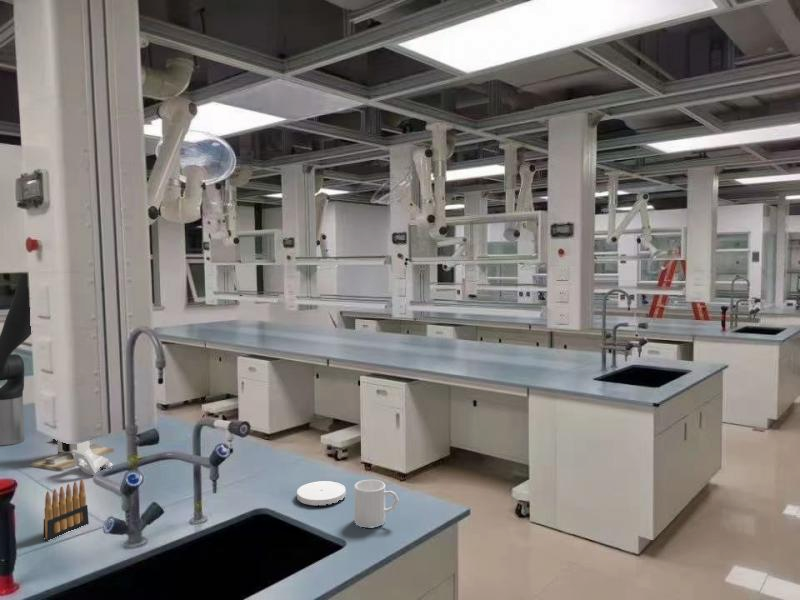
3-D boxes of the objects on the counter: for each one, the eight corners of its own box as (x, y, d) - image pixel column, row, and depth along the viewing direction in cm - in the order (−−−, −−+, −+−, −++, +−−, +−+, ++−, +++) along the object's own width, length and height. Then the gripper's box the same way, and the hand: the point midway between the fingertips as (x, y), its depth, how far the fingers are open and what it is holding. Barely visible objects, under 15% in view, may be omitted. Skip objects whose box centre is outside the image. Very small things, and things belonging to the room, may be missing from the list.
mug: (393, 533, 141) (393, 494, 141) (349, 526, 145) (349, 488, 145) (403, 519, 149) (403, 483, 149) (361, 513, 153) (361, 477, 152)
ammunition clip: (48, 541, 137) (46, 493, 137) (43, 540, 138) (41, 491, 137) (88, 523, 147) (87, 478, 146) (84, 522, 148) (82, 477, 147)
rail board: (30, 466, 189) (30, 458, 189) (84, 447, 209) (84, 440, 209) (62, 470, 185) (61, 463, 185) (113, 451, 205) (113, 444, 205)
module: (57, 456, 196) (57, 433, 196) (70, 451, 201) (69, 429, 200) (77, 459, 193) (76, 436, 193) (89, 454, 198) (89, 432, 197)
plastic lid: (287, 505, 159) (287, 496, 159) (310, 486, 172) (310, 478, 172) (333, 511, 155) (333, 502, 155) (353, 492, 168) (353, 484, 168)
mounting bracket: (80, 474, 187) (65, 448, 183) (97, 461, 192) (83, 436, 188) (99, 482, 181) (84, 455, 176) (117, 468, 185) (102, 442, 181)
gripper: (81, 395, 204) (83, 441, 205) (44, 404, 190) (46, 454, 191) (97, 396, 201) (99, 443, 202) (61, 406, 188) (63, 456, 189)
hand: (73, 448), depth 197 cm, fingers closed on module, 5 cm apart
